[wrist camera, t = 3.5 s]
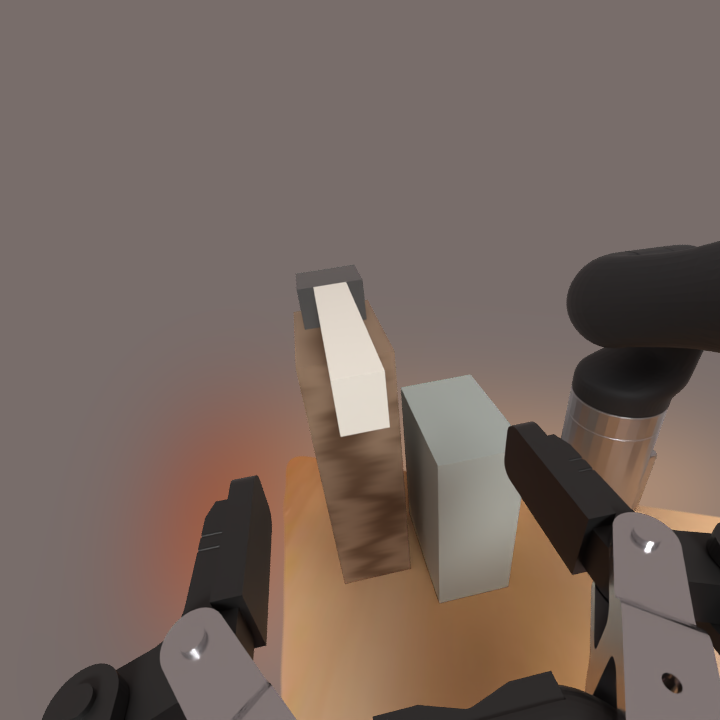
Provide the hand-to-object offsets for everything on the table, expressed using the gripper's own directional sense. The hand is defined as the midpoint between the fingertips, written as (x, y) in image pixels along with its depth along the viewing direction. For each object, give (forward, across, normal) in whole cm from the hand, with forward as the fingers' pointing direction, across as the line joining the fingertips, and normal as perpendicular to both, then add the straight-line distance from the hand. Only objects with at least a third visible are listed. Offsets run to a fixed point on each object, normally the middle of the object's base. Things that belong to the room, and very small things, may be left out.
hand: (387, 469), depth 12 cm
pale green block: (+19, -10, +36) cm, 42 cm away
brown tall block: (+24, 0, +36) cm, 43 cm away
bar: (+19, 0, +6) cm, 20 cm away
